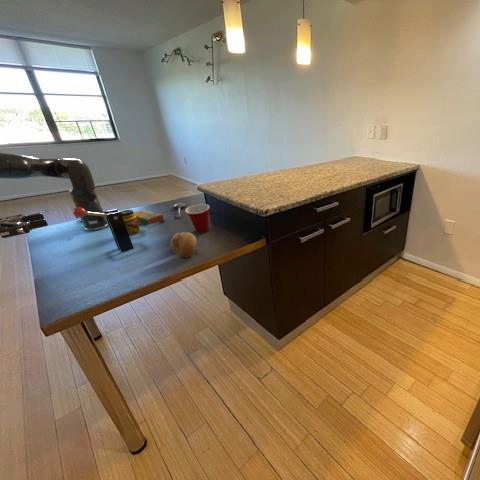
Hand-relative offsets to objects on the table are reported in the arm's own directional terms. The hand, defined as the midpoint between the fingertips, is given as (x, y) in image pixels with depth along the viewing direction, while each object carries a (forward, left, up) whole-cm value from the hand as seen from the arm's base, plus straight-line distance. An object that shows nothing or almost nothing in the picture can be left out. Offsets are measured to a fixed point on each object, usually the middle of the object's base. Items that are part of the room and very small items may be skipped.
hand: (44, 218), depth 87 cm
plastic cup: (+12, +48, -21) cm, 54 cm away
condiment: (-11, +27, -21) cm, 35 cm away
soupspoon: (-21, +58, -21) cm, 65 cm away
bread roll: (+24, +31, -21) cm, 44 cm away
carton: (-22, +40, -21) cm, 50 cm away
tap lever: (+2, +12, -4) cm, 13 cm away
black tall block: (+3, +18, -20) cm, 27 cm away
